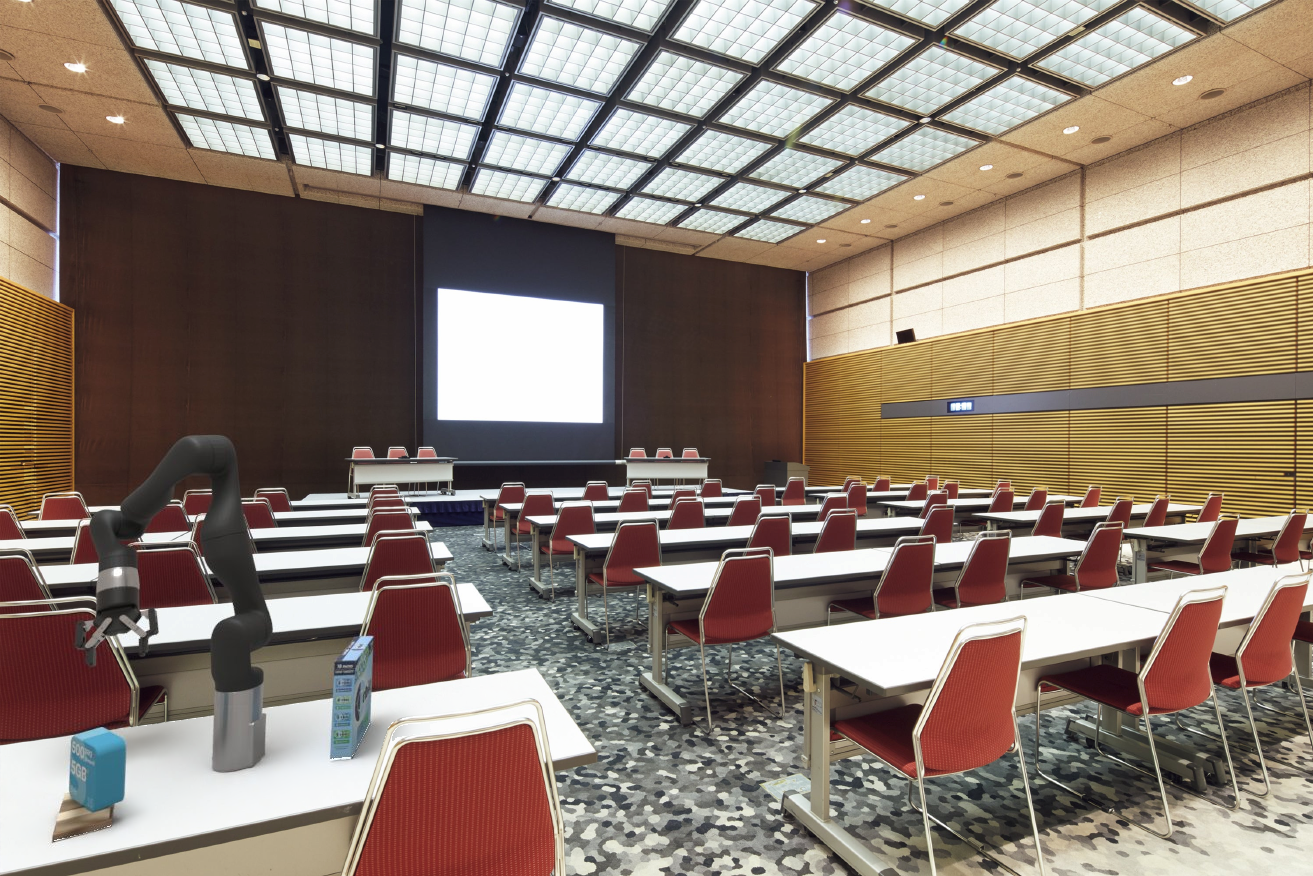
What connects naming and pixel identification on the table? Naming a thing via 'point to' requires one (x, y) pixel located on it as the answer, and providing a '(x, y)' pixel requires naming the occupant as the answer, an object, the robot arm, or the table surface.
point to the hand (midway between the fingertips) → (117, 660)
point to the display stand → (79, 818)
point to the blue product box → (351, 696)
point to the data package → (97, 768)
